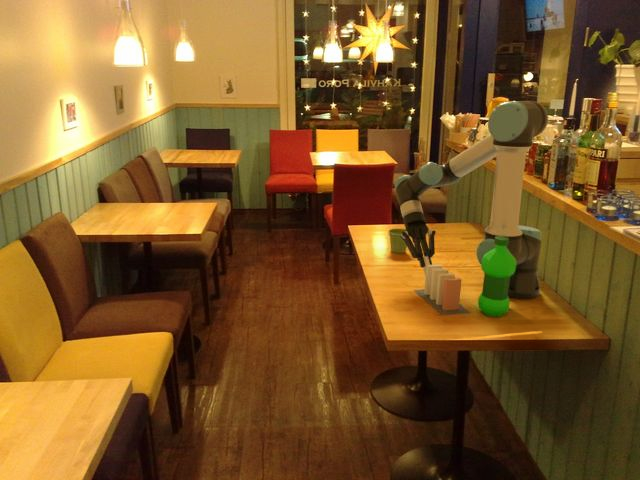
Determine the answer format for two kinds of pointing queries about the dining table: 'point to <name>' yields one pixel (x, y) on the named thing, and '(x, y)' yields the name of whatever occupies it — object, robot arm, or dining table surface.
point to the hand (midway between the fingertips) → (429, 275)
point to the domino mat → (439, 307)
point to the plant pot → (397, 241)
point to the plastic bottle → (496, 278)
